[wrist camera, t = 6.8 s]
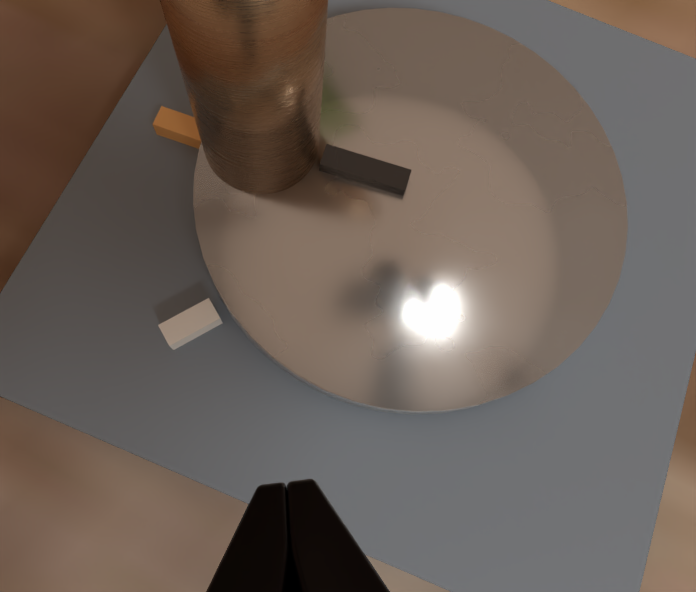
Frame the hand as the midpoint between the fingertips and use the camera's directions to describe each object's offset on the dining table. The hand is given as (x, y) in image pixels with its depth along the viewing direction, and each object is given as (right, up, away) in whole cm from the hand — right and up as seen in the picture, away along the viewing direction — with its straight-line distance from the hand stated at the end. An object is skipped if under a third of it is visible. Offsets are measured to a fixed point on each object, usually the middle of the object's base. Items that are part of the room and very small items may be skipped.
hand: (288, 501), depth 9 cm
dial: (+3, +6, +10) cm, 12 cm away
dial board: (+3, +6, +11) cm, 13 cm away
